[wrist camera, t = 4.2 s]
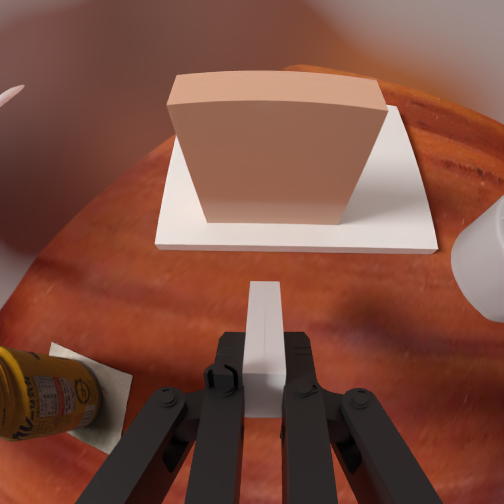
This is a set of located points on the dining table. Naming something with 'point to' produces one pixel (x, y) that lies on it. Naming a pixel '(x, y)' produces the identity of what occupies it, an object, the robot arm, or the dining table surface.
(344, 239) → the board
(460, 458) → the dining table surface
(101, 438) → the condiment
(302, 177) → the tile
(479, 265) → the lumpy-topped squat cylinder
